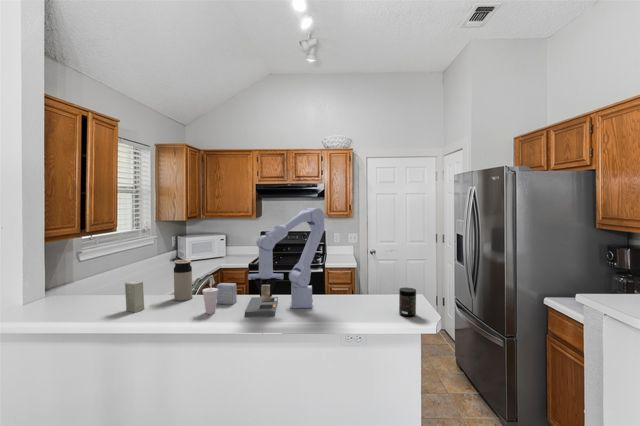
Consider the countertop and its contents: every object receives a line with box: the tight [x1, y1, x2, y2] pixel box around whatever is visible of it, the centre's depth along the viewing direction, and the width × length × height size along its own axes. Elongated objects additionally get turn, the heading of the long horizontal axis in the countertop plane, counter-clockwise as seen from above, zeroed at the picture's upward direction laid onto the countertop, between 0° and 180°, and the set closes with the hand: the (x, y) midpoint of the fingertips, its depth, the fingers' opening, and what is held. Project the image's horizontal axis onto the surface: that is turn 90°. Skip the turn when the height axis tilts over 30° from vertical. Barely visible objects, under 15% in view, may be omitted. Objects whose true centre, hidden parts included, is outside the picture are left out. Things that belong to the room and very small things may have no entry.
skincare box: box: [124, 280, 145, 313], centre depth 147 cm, size 6×4×12 cm
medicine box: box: [216, 282, 238, 305], centre depth 158 cm, size 8×4×9 cm, turn 84°
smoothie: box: [202, 278, 218, 315], centre depth 144 cm, size 6×6×14 cm
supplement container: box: [398, 287, 417, 318], centre depth 141 cm, size 7×7×10 cm
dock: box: [244, 296, 279, 317], centre depth 150 cm, size 12×20×2 cm, turn 3°
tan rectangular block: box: [261, 284, 271, 301], centre depth 146 cm, size 4×4×6 cm
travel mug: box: [173, 259, 193, 302], centre depth 164 cm, size 8×8×18 cm
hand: (266, 296), depth 146 cm, fingers closed on tan rectangular block, 3 cm apart
